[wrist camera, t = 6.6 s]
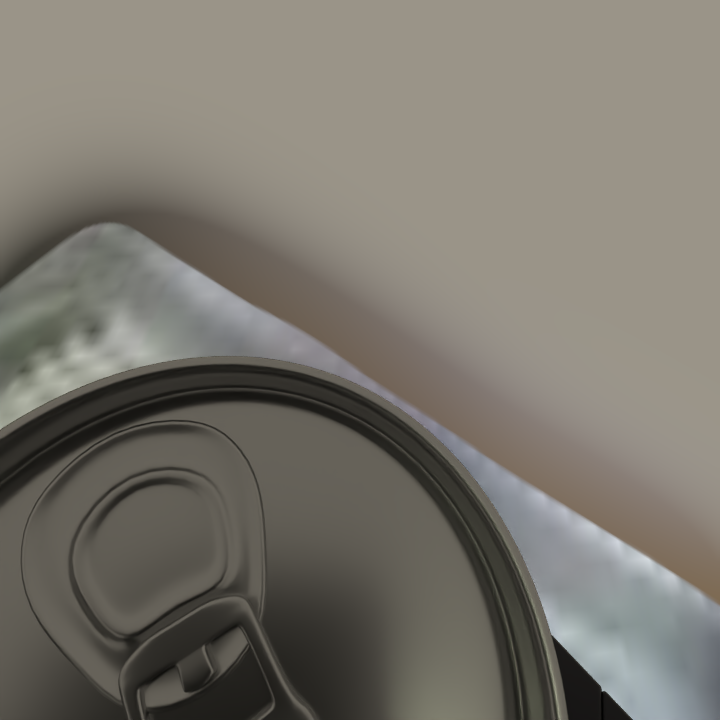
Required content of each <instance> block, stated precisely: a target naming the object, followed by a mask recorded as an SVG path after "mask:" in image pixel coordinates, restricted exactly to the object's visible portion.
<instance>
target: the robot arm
mask: <svg viewBox="0 0 720 720" xmlns="http://www.w3.org/2000/svg"><path fill="white" fill-rule="evenodd" d="M551 636H552V635H551ZM552 640H553V644H554V647H555V651H556V655H557V659H558V664H559V668H560V673H561V678H562V683H563V688H564V694H565V699H566V706H567V713H568V720H633V719H632V718H631V717H630V716H629V715H628V714H627V713H626V712H625V711H624V710H623V709H622V708H621V707H620V706H619V705H618V704H617V703H616V702H615V701H614V700H613V699H612V698H611V696H610V695H609V694H608V693H607V692H605V691H602V689H601V686H600V685H599V684H598V683H597V682H596V681H595V680H594V679H593V678H592V677H591V676H590V675H589V674H588V673H587V671H586V670H585V669H584V668H583V667H582V666H581V665H580V664H579V663H578V662H577V661H576V660H575V659H574V658H573V657H572V656H571V655H570V654H569V653H568V652H567V650H566V649H565V648H564V647H563V646H562V645H561V644H560V643H559V642H558V641H557V640H556V639H555V638H554V637H553V636H552Z"/></svg>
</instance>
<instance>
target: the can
mask: <svg viewBox="0 0 720 720" xmlns="http://www.w3.org/2000/svg"><path fill="white" fill-rule="evenodd" d="M0 720H568V713H567V706H566V699H565V694H564V688H563V683H562V678H561V673H560V668H559V664H558V659H557V655H556V651H555V647H554V644H553V640H552V636H551V633H550V629H549V626H548V623H547V619H546V616H545V613H544V610H543V607H542V604H541V601H540V598H539V596H538V593H537V591H536V588H535V585H534V583H533V580H532V578H531V576H530V573H529V571H528V569H527V566H526V564H525V562H524V560H523V558H522V556H521V554H520V551H519V549H518V547H517V545H516V544H515V542H514V540H513V538H512V536H511V534H510V532H509V530H508V529H507V527H506V525H505V524H504V522H503V520H502V518H501V517H500V515H499V514H498V512H497V510H496V509H495V507H494V506H493V504H492V503H491V501H490V500H489V498H488V497H487V495H486V494H485V493H484V491H483V490H482V488H481V487H480V486H479V484H478V483H477V482H476V480H475V479H474V478H473V477H472V475H471V474H470V473H469V472H468V471H467V469H466V468H465V467H464V466H463V465H462V464H461V462H460V461H459V460H458V459H457V458H456V457H455V456H454V455H453V454H452V453H451V452H450V451H449V450H448V449H447V448H446V447H445V446H444V445H443V444H442V443H441V442H440V441H439V440H438V439H437V438H436V437H435V436H434V435H433V434H432V433H430V432H429V431H428V430H427V429H426V428H425V427H423V426H422V425H421V424H420V423H419V422H417V421H416V420H415V419H413V418H412V417H411V416H409V415H408V414H407V413H405V412H404V411H402V410H401V409H400V408H398V407H397V406H395V405H393V404H392V403H390V402H389V401H387V400H386V399H384V398H382V397H380V396H379V395H377V394H375V393H373V392H371V391H369V390H368V389H366V388H364V387H362V386H359V385H357V384H355V383H353V382H351V381H348V380H346V379H344V378H341V377H339V376H336V375H333V374H330V373H328V372H325V371H322V370H318V369H315V368H312V367H308V366H304V365H300V364H295V363H291V362H286V361H280V360H274V359H266V358H257V357H242V356H213V357H198V358H188V359H180V360H173V361H167V362H162V363H157V364H152V365H148V366H143V367H139V368H136V369H132V370H128V371H125V372H121V373H118V374H115V375H112V376H109V377H106V378H103V379H100V380H97V381H95V382H92V383H90V384H87V385H85V386H82V387H80V388H77V389H75V390H73V391H70V392H68V393H66V394H64V395H62V396H60V397H58V398H55V399H53V400H51V401H49V402H47V403H45V404H44V405H42V406H40V407H38V408H36V409H34V410H32V411H31V412H29V413H27V414H25V415H23V416H22V417H20V418H18V419H17V420H15V421H13V422H12V423H10V424H9V425H7V426H5V427H4V428H2V429H1V430H0Z"/></svg>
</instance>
